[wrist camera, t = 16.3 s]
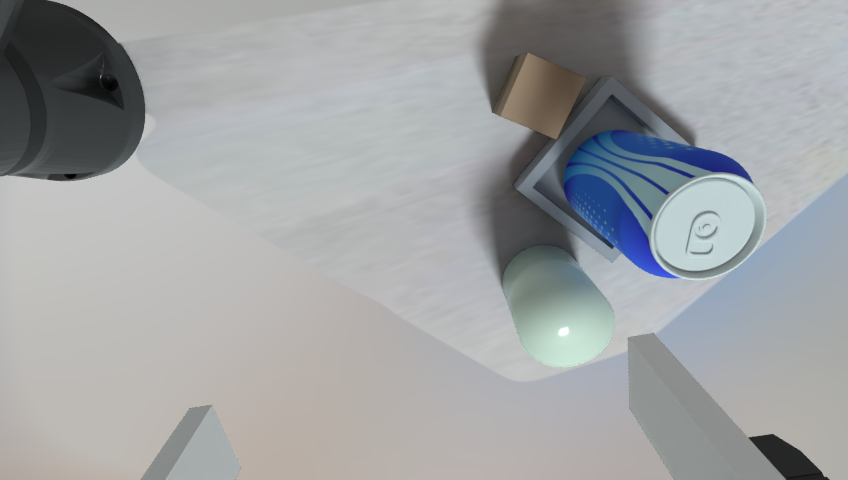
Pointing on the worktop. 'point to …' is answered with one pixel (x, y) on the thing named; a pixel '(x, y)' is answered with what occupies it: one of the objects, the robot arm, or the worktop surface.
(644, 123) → the slate tray
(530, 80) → the walnut block
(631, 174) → the beer can
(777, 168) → the worktop surface
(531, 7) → the worktop surface
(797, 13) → the worktop surface
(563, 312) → the pale green cylinder
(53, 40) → the robot arm
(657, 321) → the worktop surface
